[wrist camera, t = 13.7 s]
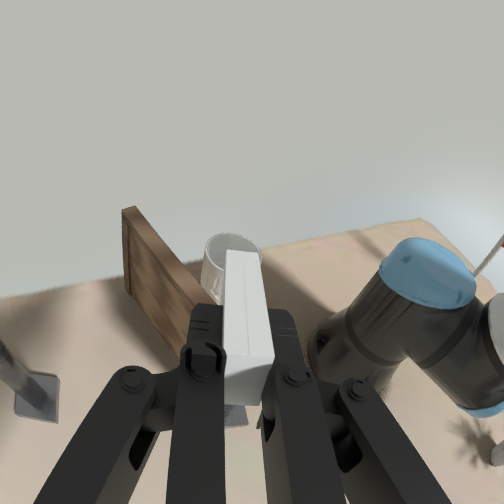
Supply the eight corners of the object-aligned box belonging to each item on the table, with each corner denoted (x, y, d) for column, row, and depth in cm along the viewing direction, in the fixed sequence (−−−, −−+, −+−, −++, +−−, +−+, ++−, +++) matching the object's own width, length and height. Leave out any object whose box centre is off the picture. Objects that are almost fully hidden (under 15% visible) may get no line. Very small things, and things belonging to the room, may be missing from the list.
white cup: (185, 300, 44) (193, 254, 37) (211, 270, 50) (223, 225, 43) (230, 326, 43) (247, 284, 36) (251, 293, 49) (270, 250, 42)
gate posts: (237, 384, 36) (296, 294, 23) (246, 425, 32) (319, 361, 19) (21, 374, 26) (-51, 273, 13) (17, 415, 22) (-74, 335, 9)
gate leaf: (215, 389, 34) (244, 333, 25) (204, 396, 33) (228, 344, 23) (135, 283, 42) (135, 205, 33) (125, 288, 41) (121, 209, 31)
